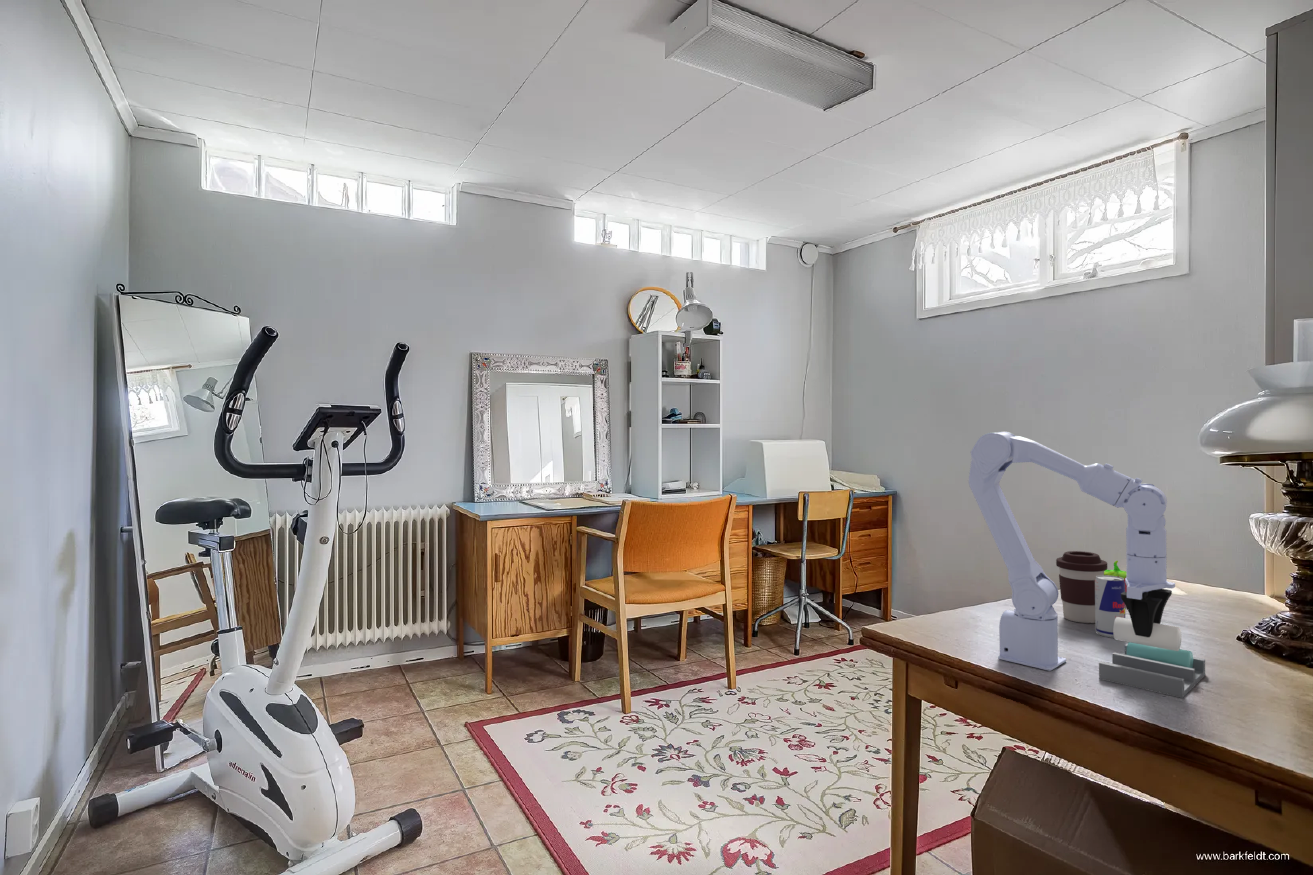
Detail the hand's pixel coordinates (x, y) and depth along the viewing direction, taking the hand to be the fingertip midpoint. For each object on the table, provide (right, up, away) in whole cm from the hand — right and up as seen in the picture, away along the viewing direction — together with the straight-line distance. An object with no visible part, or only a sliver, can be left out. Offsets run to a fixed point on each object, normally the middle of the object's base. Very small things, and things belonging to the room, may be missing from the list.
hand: (1146, 632), depth 122 cm
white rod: (+1, -2, +1) cm, 2 cm away
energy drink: (+11, -8, +26) cm, 29 cm away
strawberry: (+29, -7, +52) cm, 60 cm away
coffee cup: (+11, -8, +37) cm, 40 cm away
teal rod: (+5, -7, +4) cm, 10 cm away
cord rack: (+2, -8, +2) cm, 9 cm away
